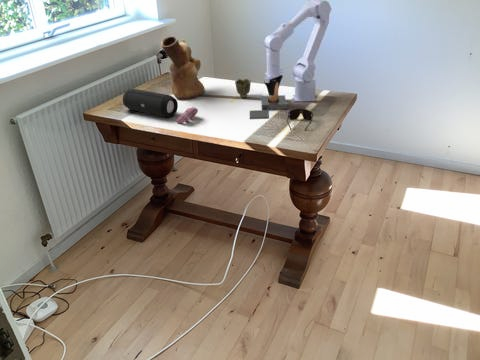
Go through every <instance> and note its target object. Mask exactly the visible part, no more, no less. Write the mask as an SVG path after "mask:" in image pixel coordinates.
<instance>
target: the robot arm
mask: <svg viewBox="0 0 480 360" xmlns="http://www.w3.org/2000/svg"><path fill="white" fill-rule="evenodd" d="M331 11H332V6H331V5H330V3H329V1H327V0H308V1H307V2H305V3H304V5H303V7H302V8H301V9H300V10H298V12H297V13H296V14H295V15H294V16H293V18H291V20H289V22H284V23H283V22H282V23H281V24H280V26H279V27H278V28H277V29H276V30H275V31H273V32H272V34H268V35H267V36H266V37H265V39H264V41H263V45H264V47H265V50H266V72H264V76H265V77H264V80H263V83H264V85H265V86H266V89H267V90H266V91H267V92H268V96H269V95H272V96H273V95H274V90H275V85H276V82H278V91H279V89H280V85H281V82H282V80H283V77H284V76H283V75H281V74H282V72H283V70H282V68H281V66H280V65H281V63H280V62H281V61H280V60H281V59H280V58H281V55H280V52H281V51H280V50H281V49H282V47H283V44H284V43H285V41H286V40H288V39H289V38H290V37H291V36H292V35H293V34H294V33H295V32H294V31H295V29H296V28H297V27H298V26H299V25H301V23H303V22H305V20H307V19H308V18H311V17H312V19H313V20H314V23H315V24H314V26H313V29H312V31H311V34H310V37H309V39H308V41H307V44H306V47H305V50H304V53H303V55H302V56H301V57H300V58H299V59H297V62H296V64H295V65H294V66H293V68H292V70H291V71H292V76H294V87H295V88H294V94H293V95H292V96H293V99H294V100H293V101H294V102H295V103H297V102H315V101H316V79H314V77H315V70H316V65H315V62H314V61H315V60H316V57H317V54H318V52H319V49H320V46H321V43H322V41H323V39H324V38H325V33H326V31H327V29H328V27H329V24H330V14H331ZM273 80H276V81H273Z"/></svg>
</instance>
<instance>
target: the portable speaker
mask: <svg viewBox="0 0 480 360" xmlns="http://www.w3.org/2000/svg"><path fill="white" fill-rule="evenodd" d="M122 104H123V105H124V107H125V108H127V109H128V110H129V111H134V112H139V113H142V114H143V113H144V114H148V115H149V114H150V115H154V116H158V117H163V118H169V117H173V116H175V115H176V113H177V111H178V106H179V103H178V99H176V98H175V97H174V96H172V95H170V94H166V93H159V92H154V91H148V90H142V89H138V88H130V89H127V90H126V91H124V93H123V96H122Z"/></svg>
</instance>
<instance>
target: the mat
mask: <svg viewBox="0 0 480 360" xmlns="http://www.w3.org/2000/svg"><path fill="white" fill-rule="evenodd" d="M268 114H269V110H262V109H259V110H258V109H257V110H249V120H257V119H258V120H259V119H269V115H268Z"/></svg>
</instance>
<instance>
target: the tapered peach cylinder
mask: <svg viewBox="0 0 480 360" xmlns="http://www.w3.org/2000/svg"><path fill="white" fill-rule="evenodd" d="M273 81H276V80H273ZM268 96H269V101H271V102H276V101H278V96H279V90H278V82H276V85H275V90H274V95H273V96H272V95H269V94H268Z"/></svg>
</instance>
